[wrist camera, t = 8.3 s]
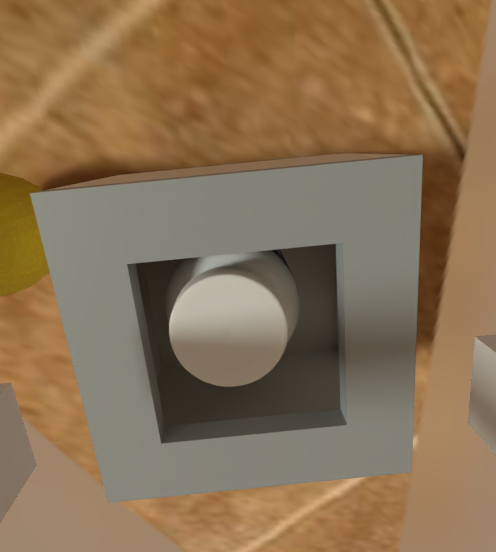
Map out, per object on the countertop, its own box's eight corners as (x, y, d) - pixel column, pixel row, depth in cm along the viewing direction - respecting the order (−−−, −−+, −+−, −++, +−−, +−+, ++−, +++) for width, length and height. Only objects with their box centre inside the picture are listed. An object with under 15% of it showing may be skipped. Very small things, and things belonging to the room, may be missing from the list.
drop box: (119, 174, 22) (29, 193, 12) (340, 153, 22) (422, 155, 12) (155, 370, 25) (107, 502, 16) (345, 351, 25) (411, 472, 16)
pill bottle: (298, 296, 23) (332, 376, 14) (212, 328, 24) (186, 427, 14) (265, 208, 22) (277, 226, 12) (175, 243, 22) (120, 287, 13)
